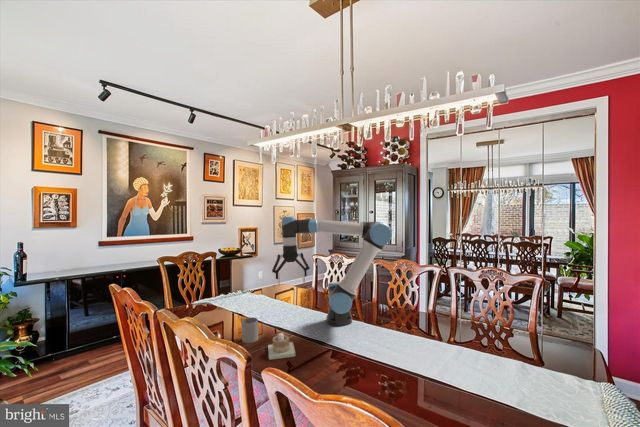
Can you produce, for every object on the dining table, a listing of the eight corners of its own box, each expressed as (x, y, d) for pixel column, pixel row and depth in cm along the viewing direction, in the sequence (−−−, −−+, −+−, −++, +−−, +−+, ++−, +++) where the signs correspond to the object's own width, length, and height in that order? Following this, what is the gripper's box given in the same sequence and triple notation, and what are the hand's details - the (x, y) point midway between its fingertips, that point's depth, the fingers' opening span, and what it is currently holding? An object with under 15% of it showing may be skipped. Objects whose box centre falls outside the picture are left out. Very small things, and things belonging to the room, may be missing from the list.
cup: (254, 343, 155) (253, 323, 155) (239, 342, 157) (238, 323, 156) (260, 336, 163) (260, 317, 163) (246, 335, 165) (245, 317, 165)
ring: (288, 344, 148) (288, 334, 148) (290, 351, 141) (289, 340, 141) (272, 346, 147) (272, 336, 147) (273, 353, 140) (272, 342, 139)
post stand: (292, 345, 151) (292, 327, 151) (295, 356, 139) (294, 337, 139) (268, 348, 149) (267, 330, 149) (268, 359, 137) (268, 341, 137)
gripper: (311, 242, 172) (312, 280, 172) (266, 245, 167) (268, 284, 167) (313, 244, 165) (315, 283, 165) (266, 247, 160) (268, 287, 160)
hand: (291, 283), depth 166 cm, fingers open, 13 cm apart
